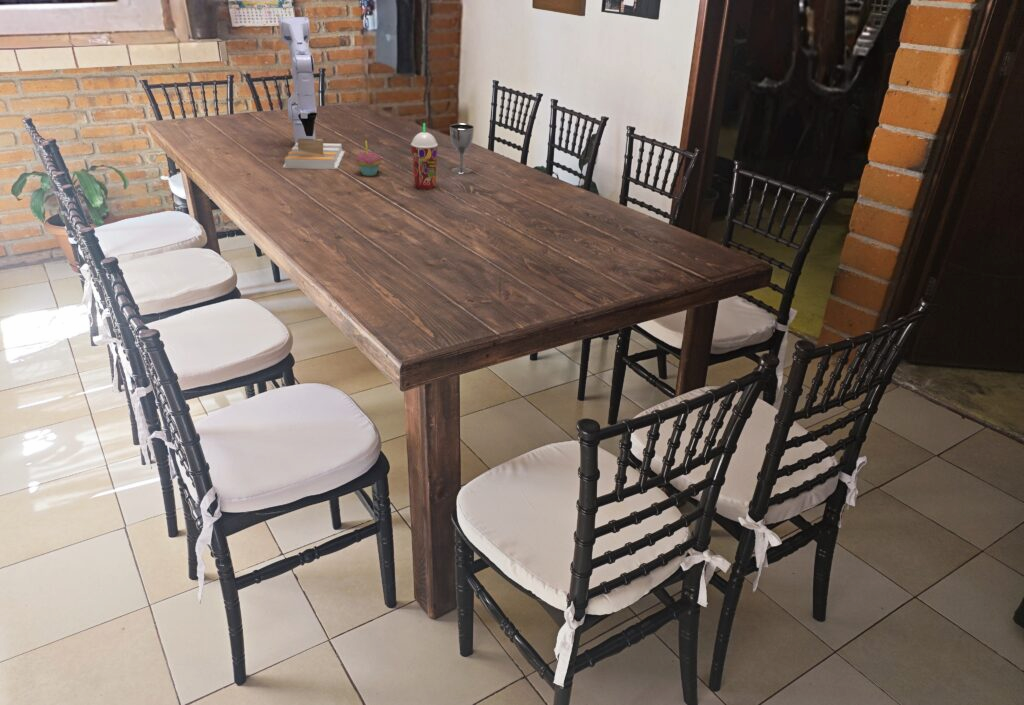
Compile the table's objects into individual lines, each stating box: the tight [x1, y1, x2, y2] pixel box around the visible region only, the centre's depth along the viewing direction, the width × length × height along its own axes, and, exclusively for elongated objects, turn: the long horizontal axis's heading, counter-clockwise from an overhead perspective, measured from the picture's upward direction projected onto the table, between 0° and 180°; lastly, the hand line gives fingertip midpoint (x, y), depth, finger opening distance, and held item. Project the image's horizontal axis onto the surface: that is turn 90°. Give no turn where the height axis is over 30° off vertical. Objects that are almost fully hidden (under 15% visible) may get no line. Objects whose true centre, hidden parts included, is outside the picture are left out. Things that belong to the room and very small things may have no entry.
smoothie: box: [410, 122, 439, 190], centre depth 237 cm, size 8×8×20 cm
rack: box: [282, 142, 346, 170], centre depth 262 cm, size 22×18×3 cm
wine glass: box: [449, 123, 475, 174], centre depth 256 cm, size 8×8×15 cm
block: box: [298, 138, 324, 157], centre depth 255 cm, size 2×8×8 cm, turn 94°
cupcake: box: [355, 140, 382, 177], centre depth 248 cm, size 9×8×12 cm
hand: (309, 135), depth 252 cm, fingers closed
